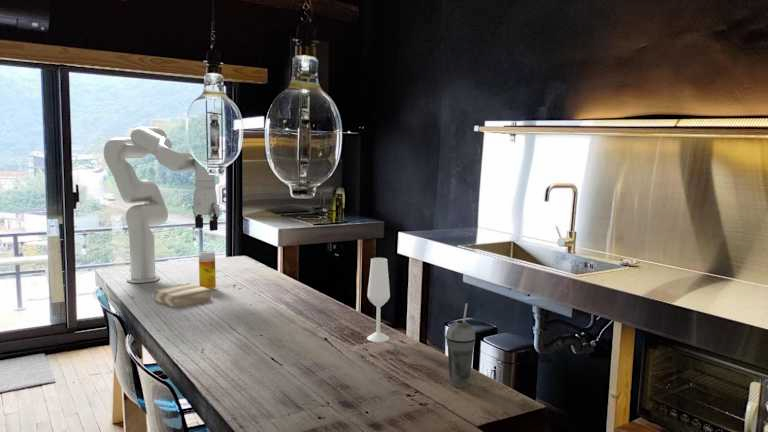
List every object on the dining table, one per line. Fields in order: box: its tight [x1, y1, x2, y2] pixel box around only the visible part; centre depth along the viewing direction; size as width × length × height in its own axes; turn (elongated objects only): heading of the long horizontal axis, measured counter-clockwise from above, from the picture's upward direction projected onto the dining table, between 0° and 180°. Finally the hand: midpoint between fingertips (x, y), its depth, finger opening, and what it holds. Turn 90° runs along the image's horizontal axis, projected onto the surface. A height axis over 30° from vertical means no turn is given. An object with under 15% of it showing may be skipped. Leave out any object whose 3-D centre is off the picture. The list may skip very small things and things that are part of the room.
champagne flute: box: [366, 257, 391, 343], centre depth 170 cm, size 7×7×24 cm
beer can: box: [198, 250, 217, 292], centre depth 225 cm, size 6×6×15 cm
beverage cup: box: [445, 302, 477, 388], centre depth 138 cm, size 7×7×20 cm
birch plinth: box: [154, 282, 212, 309], centre depth 210 cm, size 14×14×4 cm
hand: (206, 229), depth 223 cm, fingers open, 9 cm apart
